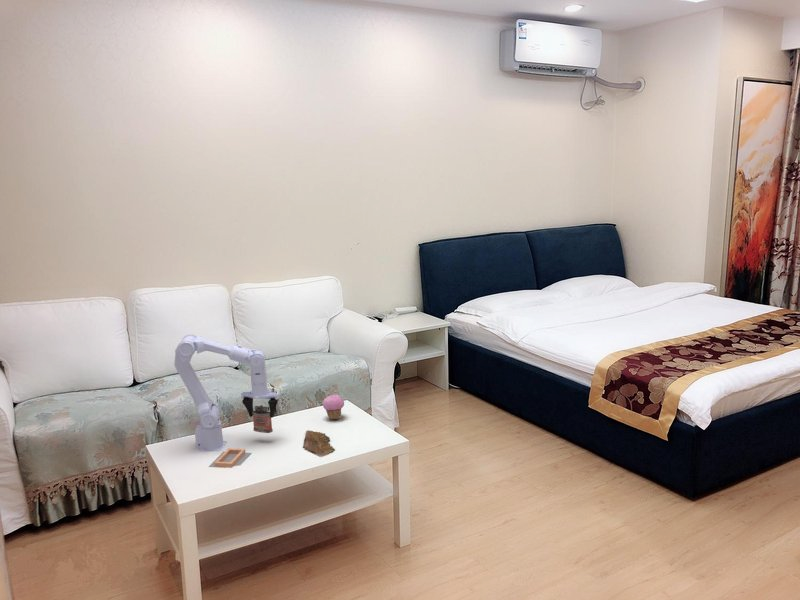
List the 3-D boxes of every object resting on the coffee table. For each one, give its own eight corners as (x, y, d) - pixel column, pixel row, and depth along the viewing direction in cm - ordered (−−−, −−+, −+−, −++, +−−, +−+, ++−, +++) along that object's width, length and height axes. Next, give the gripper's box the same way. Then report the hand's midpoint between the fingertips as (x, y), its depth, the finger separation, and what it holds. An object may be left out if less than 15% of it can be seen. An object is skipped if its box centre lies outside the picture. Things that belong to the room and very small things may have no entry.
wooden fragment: (337, 454, 222) (336, 452, 221) (307, 462, 219) (307, 459, 218) (324, 427, 246) (323, 425, 245) (297, 434, 243) (296, 431, 242)
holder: (208, 468, 216) (208, 462, 215) (223, 452, 227) (223, 447, 227) (237, 469, 214) (237, 464, 213) (251, 454, 225) (251, 449, 225)
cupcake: (345, 413, 261) (344, 391, 259) (344, 421, 252) (342, 399, 250) (324, 414, 261) (323, 392, 259) (322, 422, 252) (321, 399, 250)
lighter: (251, 431, 235) (249, 406, 233) (256, 427, 238) (254, 403, 236) (269, 433, 232) (267, 408, 230) (274, 430, 235) (272, 405, 233)
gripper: (236, 385, 228) (239, 419, 231) (273, 386, 226) (276, 421, 228) (244, 379, 235) (247, 412, 238) (280, 380, 232) (282, 413, 235)
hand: (261, 416), depth 234 cm, fingers closed on lighter, 7 cm apart
